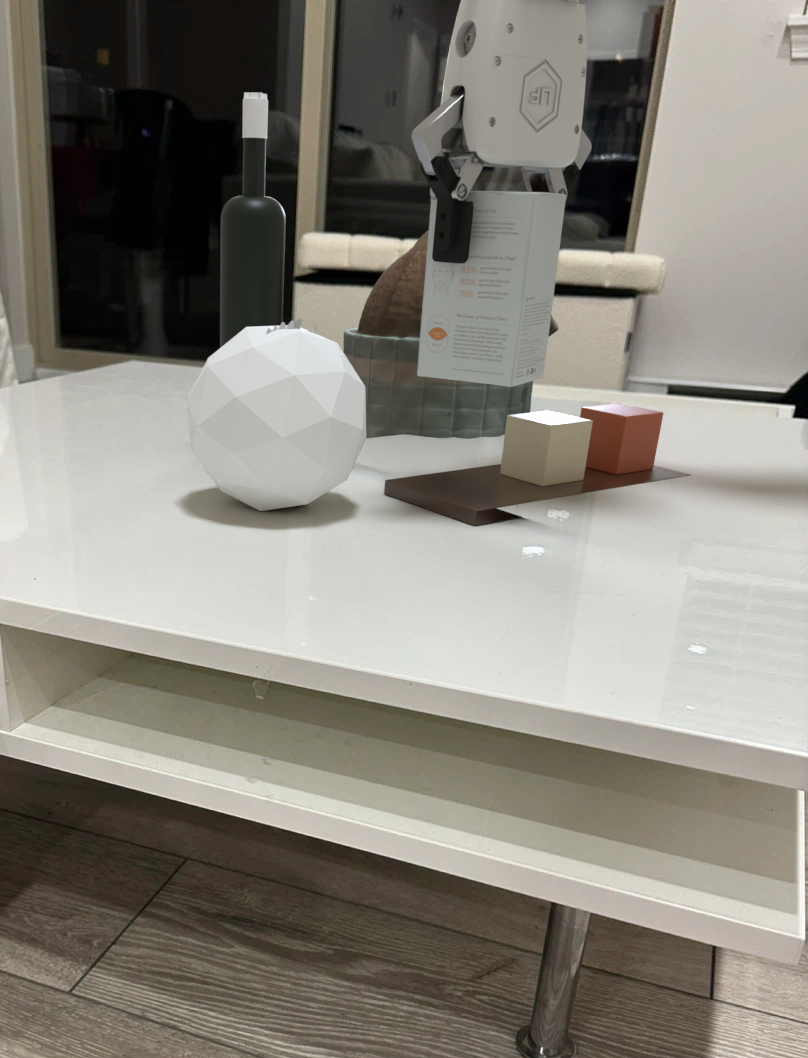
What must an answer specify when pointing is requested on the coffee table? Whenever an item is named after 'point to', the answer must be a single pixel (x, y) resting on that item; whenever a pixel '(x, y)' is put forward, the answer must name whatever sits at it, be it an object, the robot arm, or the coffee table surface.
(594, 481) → the dark brown board
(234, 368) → the geodesic sphere
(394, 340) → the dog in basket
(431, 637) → the coffee table surface
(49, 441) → the coffee table surface
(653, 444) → the terracotta cube
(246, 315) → the wine bottle
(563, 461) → the beige block
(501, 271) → the small box
